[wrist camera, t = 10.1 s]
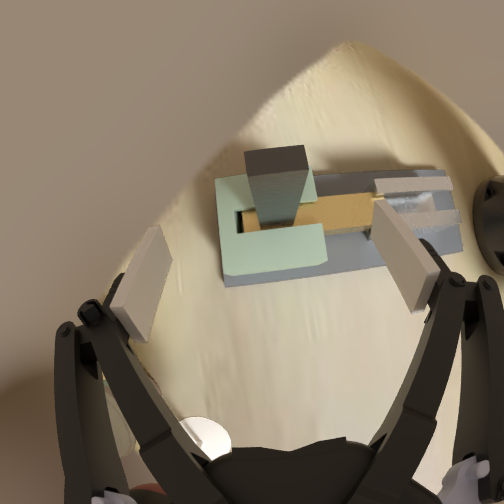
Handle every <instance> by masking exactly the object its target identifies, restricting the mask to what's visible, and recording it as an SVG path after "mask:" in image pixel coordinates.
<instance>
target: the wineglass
mask: <svg viewBox="0 0 504 504" xmlns="http://www.w3.org/2000/svg"><path fill="white" fill-rule="evenodd" d="M179 423H180V424H181V426H182V427H183V428H184V429H185V431H186V432H187V433H188V435H189V436H190V437H191V439H192V440H193V441H194V442H195V444H196V445H197V446H198V447H199V448H200V449H201V450H202V451H203V452H204V453H205V454H206V455H207V456H208V457H209V458H210V459H211V460H214V459H215V458H217V457H219V456H221V455H224V454H227V453H228V452H229V450H230V447H231V439H230V437H229V435H228V433H227V431H226V430H225V429H224V428H223V427H222V426H221V425H219V424H218V423H216V422H214V421H213V420H210V419H207V418H204V417H189V418H185V419H183V420H182V421H180V422H179ZM129 493H130V497H131V498H133V499H134V500H135V501H136V503H137V504H168V503H169V502H170V501H171V500H170V498H169V497H168V496H167V494H166V493H165V492H164V490H163V489H162V488H161V486H160V485H159V484H158V483H157V484H156V483H149V484H143V485H139V486H136V487H133V488H131V489H129Z"/></svg>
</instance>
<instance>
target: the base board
mask: <svg viewBox="0 0 504 504" xmlns="http://www.w3.org/2000/svg"><path fill="white" fill-rule="evenodd" d="M442 176H446V174H445V171H444V170H391V171H369V172H353V173H339V174H327V175H316V176H313V178H314V183H315V188H316V193H317V197H324V196H334V195H345V194H356V193H362V192H363V191H364V190H365V189H366V188H367V187H368V185H369V184H370V183H371V182H372V181H373V180H374V179H381V178H402V177H442ZM215 195H216V189H215ZM432 196H433V200H434V204H435V208H436V211H441V210H452V209H455V206H454V202H453V199H452V195H451V191H440V192H434V193H433V194H432ZM216 206H217V201H216ZM217 217H218V212H217ZM218 228H219V223H218ZM415 236H416V237H417V238H418V239H420V238H423V239H425V240H426V241H428V242H429V243H430V244H431V245H432V246H433V248H434V249H435V251H436V252H437V253H438V254H439V256H442V255H447V254H452V253H457V252H462V251H463V245H462V240H461V234H460V229H459V224H457V225H454V226H452V227H449V228H447V229H444V230H441V231H439V232H432V233H425V234H418V235H415ZM219 238H220V233H219ZM324 238H325V244H326V251H327V258H328V261H326V262H324V263H322V264H320V265H315V266H308V267H300V268H293V269H285V270H278V271H270V272H262V273H254V274H246V275H237V276H231V275H226V274H224V271H223V276H224V285H225V288H226V287H236V286H244V285H253V284H261V283H269V282H277V281H285V280H292V279H300V278H307V277H314V276H321V275H328V274H335V273H342V272H348V271H355V270H361V269H367V268H374V267H380V266H386V264H385V262H384V260H383V259H382V257H381V255H380V253H379V252H378V250H377V248H376V246H375V245H374V243H373V241H368V237H367V232H366V231H361V232H353V233H345V234H337V235H329V236H324ZM220 248H221V243H220ZM221 258H222V253H221ZM222 267H223V262H222Z"/></svg>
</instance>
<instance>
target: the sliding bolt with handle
mask: <svg viewBox="0 0 504 504" xmlns="http://www.w3.org/2000/svg"><path fill="white" fill-rule="evenodd" d="M244 155H245V163H246V171H247V178H248V182H249V185H250V189H251V193H252V197H253V201H254V205H255V209H250V210H243V211H242V218H243V227H244V233H247V232H255V231H262V230H270V229H278V228H286V227H293V226H302V225H310V224H318V223H322V226H323V232H324V236H329V235H337V234H345V233H353V232H361V231H369V230H371V227H372V218H373V209H374V200H381V199H384V195H377V196H376V194H375V192H368V193H356V194H345V195H334V196H324V197H317V198H318V200H317V201H314V202H305V203H300V200H301V197H302V193H303V190H304V186H305V183H306V179H307V176H308V172H309V166H308V161H307V157H306V152H305V148H304V145H297V146H287V147H277V148H269V149H261V150H254V151H247V152H244Z"/></svg>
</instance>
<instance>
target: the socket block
mask: <svg viewBox="0 0 504 504" xmlns="http://www.w3.org/2000/svg"><path fill="white" fill-rule="evenodd" d="M215 189H216V201H217V212H218V223H219V233H220V243H221V253H222V262H223V271H224V274H226V275H231V276H237V275H246V274H254V273H262V272H270V271H278V270H285V269H293V268H300V267H308V266H315V265H320V264H322V263H324V262H326V261H328V258H327V251H326V244H325V238H324V232H323V226H322V223H318V224H310V225H302V226H293V227H286V228H278V229H270V230H262V231H255V232H247V233H244V227H243V218H242V211H243V210H250V209H255V205H254V201H253V197H252V193H251V189H250V185H249V182H248V178H247V174H241V175H234V176H228V177H222V178H216V179H215ZM317 200H318V198H317V193H316V188H315V183H314V178H313V173H312V168H311V166H309V172H308V176H307V179H306V183H305V186H304V190H303V193H302V197H301V200H300V203H305V202H314V201H317Z"/></svg>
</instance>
